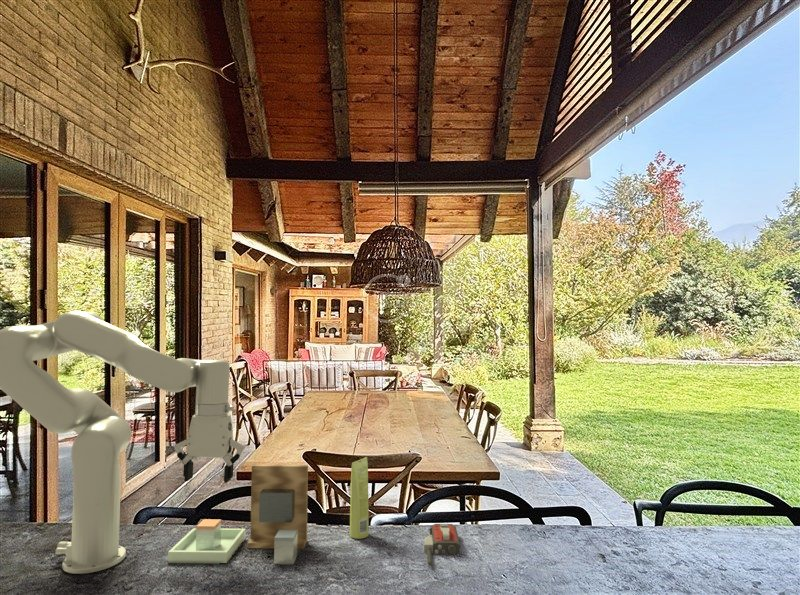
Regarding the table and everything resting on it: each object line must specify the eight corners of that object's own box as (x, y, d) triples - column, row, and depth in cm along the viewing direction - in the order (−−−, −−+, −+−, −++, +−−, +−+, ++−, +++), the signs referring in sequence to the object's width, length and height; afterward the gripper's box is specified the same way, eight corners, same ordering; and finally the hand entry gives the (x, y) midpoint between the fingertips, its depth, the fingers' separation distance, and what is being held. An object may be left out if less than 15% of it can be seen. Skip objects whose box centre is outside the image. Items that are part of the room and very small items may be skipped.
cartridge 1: (195, 551, 121) (196, 526, 121) (203, 543, 125) (203, 519, 125) (213, 552, 120) (214, 526, 121) (220, 544, 125) (221, 519, 125)
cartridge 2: (274, 564, 116) (274, 537, 116) (278, 555, 120) (279, 529, 120) (293, 564, 116) (293, 537, 116) (297, 555, 120) (297, 529, 120)
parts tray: (167, 562, 116) (168, 551, 116) (193, 538, 130) (193, 528, 130) (226, 563, 116) (226, 552, 116) (245, 538, 129) (245, 528, 129)
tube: (348, 531, 134) (348, 457, 135) (366, 530, 135) (367, 456, 136) (351, 540, 128) (351, 462, 129) (370, 538, 129) (371, 461, 131)
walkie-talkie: (422, 533, 133) (425, 570, 113) (422, 516, 134) (425, 550, 114) (455, 534, 133) (464, 570, 113) (455, 517, 134) (463, 550, 114)
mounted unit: (246, 549, 123) (248, 469, 124) (252, 540, 128) (254, 463, 129) (303, 549, 123) (304, 469, 124) (307, 541, 128) (308, 464, 129)
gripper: (251, 408, 128) (247, 477, 127) (183, 406, 128) (180, 474, 127) (241, 413, 121) (237, 486, 120) (169, 411, 121) (165, 483, 120)
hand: (208, 480), depth 123 cm, fingers open, 9 cm apart
